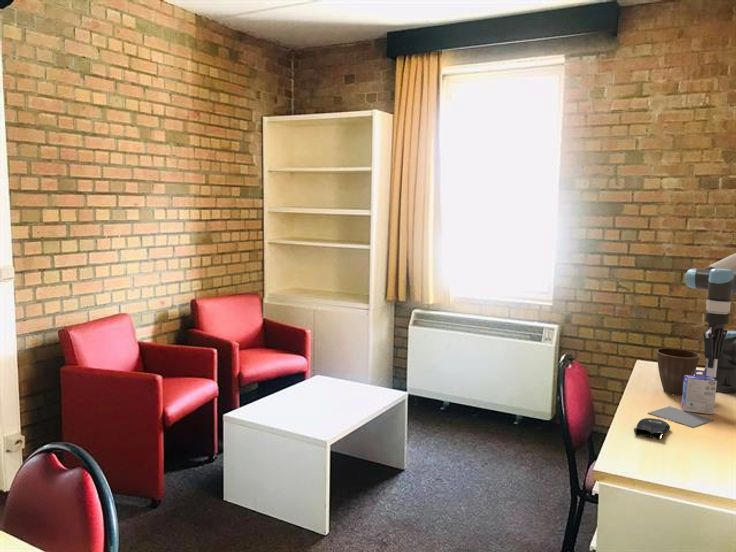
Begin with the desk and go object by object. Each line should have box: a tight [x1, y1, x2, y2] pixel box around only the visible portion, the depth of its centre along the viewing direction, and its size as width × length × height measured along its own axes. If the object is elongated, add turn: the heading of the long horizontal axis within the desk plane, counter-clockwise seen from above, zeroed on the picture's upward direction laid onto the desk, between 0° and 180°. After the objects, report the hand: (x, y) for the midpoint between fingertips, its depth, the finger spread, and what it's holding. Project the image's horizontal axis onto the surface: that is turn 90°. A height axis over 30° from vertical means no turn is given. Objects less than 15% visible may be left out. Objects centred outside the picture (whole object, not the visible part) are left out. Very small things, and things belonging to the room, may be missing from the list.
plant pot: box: [656, 347, 700, 396], centre depth 248 cm, size 15×15×16 cm
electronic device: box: [633, 417, 671, 441], centre depth 206 cm, size 9×6×15 cm
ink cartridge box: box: [680, 369, 717, 415], centre depth 227 cm, size 10×6×14 cm, turn 78°
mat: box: [647, 405, 715, 429], centre depth 221 cm, size 14×16×1 cm
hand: (711, 376), depth 230 cm, fingers closed
